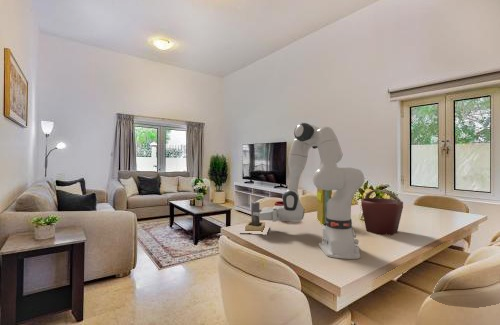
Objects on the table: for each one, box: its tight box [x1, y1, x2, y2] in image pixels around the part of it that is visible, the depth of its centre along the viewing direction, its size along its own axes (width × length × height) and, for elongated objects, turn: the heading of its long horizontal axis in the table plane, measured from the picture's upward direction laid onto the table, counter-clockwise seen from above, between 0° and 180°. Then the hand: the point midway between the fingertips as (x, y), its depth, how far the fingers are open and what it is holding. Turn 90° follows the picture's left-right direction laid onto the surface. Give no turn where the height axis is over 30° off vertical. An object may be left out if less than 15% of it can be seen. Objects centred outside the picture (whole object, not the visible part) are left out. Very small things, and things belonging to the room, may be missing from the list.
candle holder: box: [244, 221, 266, 232], centre depth 151 cm, size 16×16×4 cm
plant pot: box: [274, 200, 284, 206], centre depth 183 cm, size 13×13×12 cm
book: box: [316, 187, 333, 225], centre depth 174 cm, size 17×7×25 cm, turn 179°
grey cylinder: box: [250, 201, 261, 226], centre depth 151 cm, size 5×5×14 cm
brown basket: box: [360, 189, 404, 236], centre depth 150 cm, size 24×22×25 cm
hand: (254, 212), depth 152 cm, fingers closed on grey cylinder, 5 cm apart
